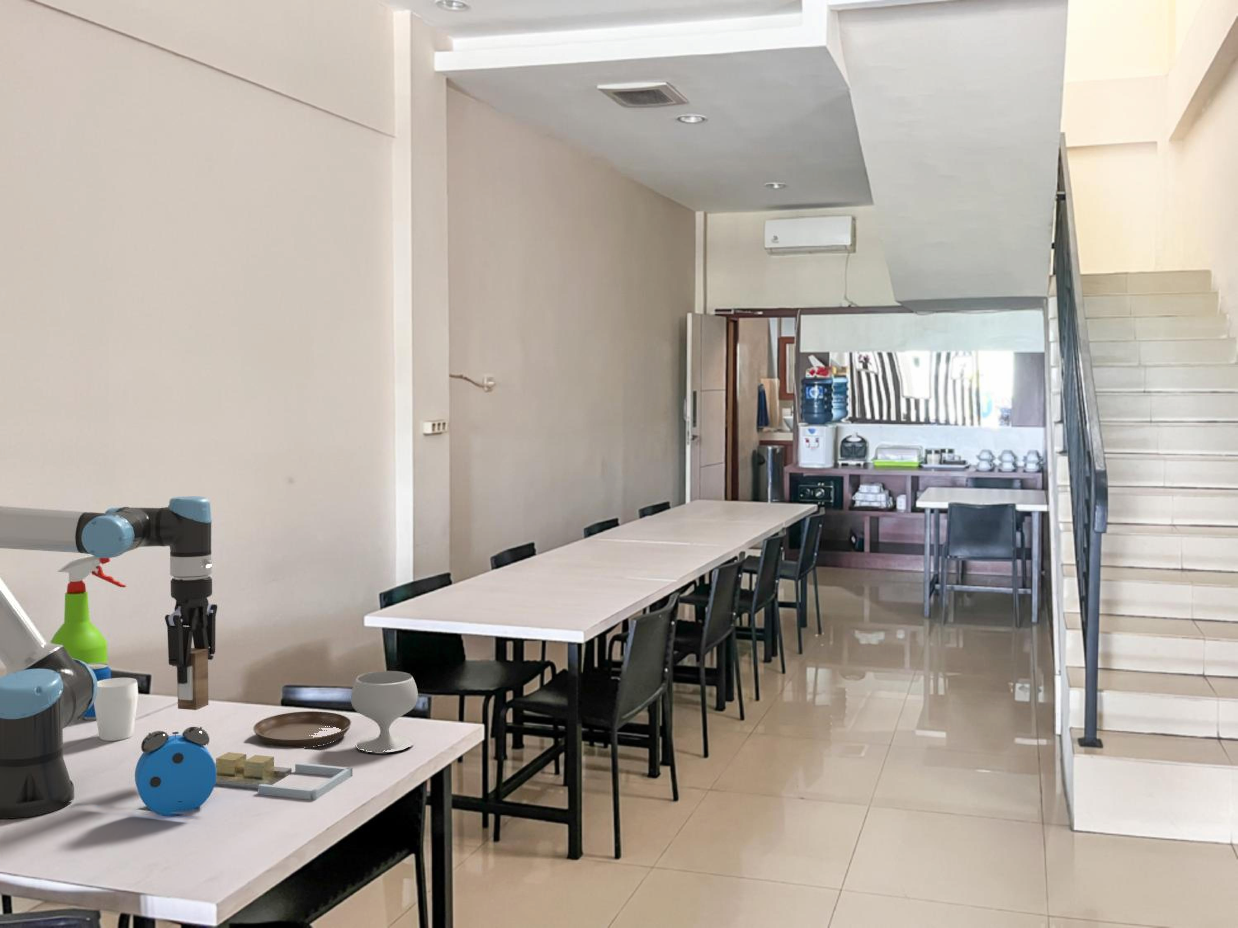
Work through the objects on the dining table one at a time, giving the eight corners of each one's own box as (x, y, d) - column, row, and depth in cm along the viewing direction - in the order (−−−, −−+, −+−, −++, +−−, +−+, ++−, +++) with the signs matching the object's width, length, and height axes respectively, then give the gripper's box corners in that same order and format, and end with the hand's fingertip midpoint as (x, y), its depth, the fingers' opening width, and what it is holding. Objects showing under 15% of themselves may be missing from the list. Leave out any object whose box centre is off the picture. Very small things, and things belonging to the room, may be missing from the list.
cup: (146, 731, 252) (145, 678, 252) (125, 743, 243) (124, 688, 243) (107, 729, 253) (107, 676, 253) (84, 741, 244) (84, 686, 244)
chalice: (431, 743, 246) (431, 674, 245) (387, 760, 234) (386, 688, 233) (382, 733, 253) (382, 666, 252) (336, 749, 241) (336, 679, 240)
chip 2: (262, 783, 216) (262, 762, 215) (243, 781, 217) (243, 760, 216) (274, 776, 220) (273, 756, 219) (255, 775, 221) (255, 754, 220)
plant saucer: (358, 747, 243) (358, 731, 243) (257, 757, 236) (257, 741, 236) (344, 721, 263) (344, 707, 262) (250, 730, 255) (250, 715, 255)
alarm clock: (211, 800, 209) (211, 720, 208) (217, 811, 204) (216, 728, 203) (134, 812, 203) (133, 729, 202) (138, 823, 197) (137, 738, 197)
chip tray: (315, 804, 207) (315, 791, 207) (258, 798, 210) (258, 785, 210) (352, 780, 221) (352, 767, 221) (297, 775, 224) (297, 762, 224)
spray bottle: (124, 696, 282) (122, 556, 280) (43, 702, 276) (41, 558, 274) (129, 683, 295) (127, 549, 293) (52, 688, 289) (50, 551, 287)
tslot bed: (263, 794, 212) (263, 784, 212) (188, 786, 216) (188, 776, 216) (291, 778, 222) (291, 768, 222) (219, 770, 226) (219, 760, 226)
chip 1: (234, 780, 217) (234, 760, 217) (216, 778, 218) (216, 758, 218) (246, 774, 221) (246, 753, 221) (228, 772, 222) (228, 752, 222)
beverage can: (80, 714, 265) (79, 663, 265) (111, 711, 268) (110, 661, 267) (80, 721, 259) (79, 669, 259) (111, 718, 262) (110, 667, 261)
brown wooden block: (177, 708, 220) (176, 652, 219) (190, 703, 224) (189, 647, 223) (196, 709, 219) (195, 653, 218) (208, 704, 222) (207, 649, 222)
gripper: (180, 584, 211) (182, 708, 212) (234, 571, 227) (235, 687, 228) (145, 582, 212) (147, 706, 214) (201, 569, 229) (202, 684, 230)
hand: (193, 695), depth 221 cm, fingers closed on brown wooden block, 4 cm apart
